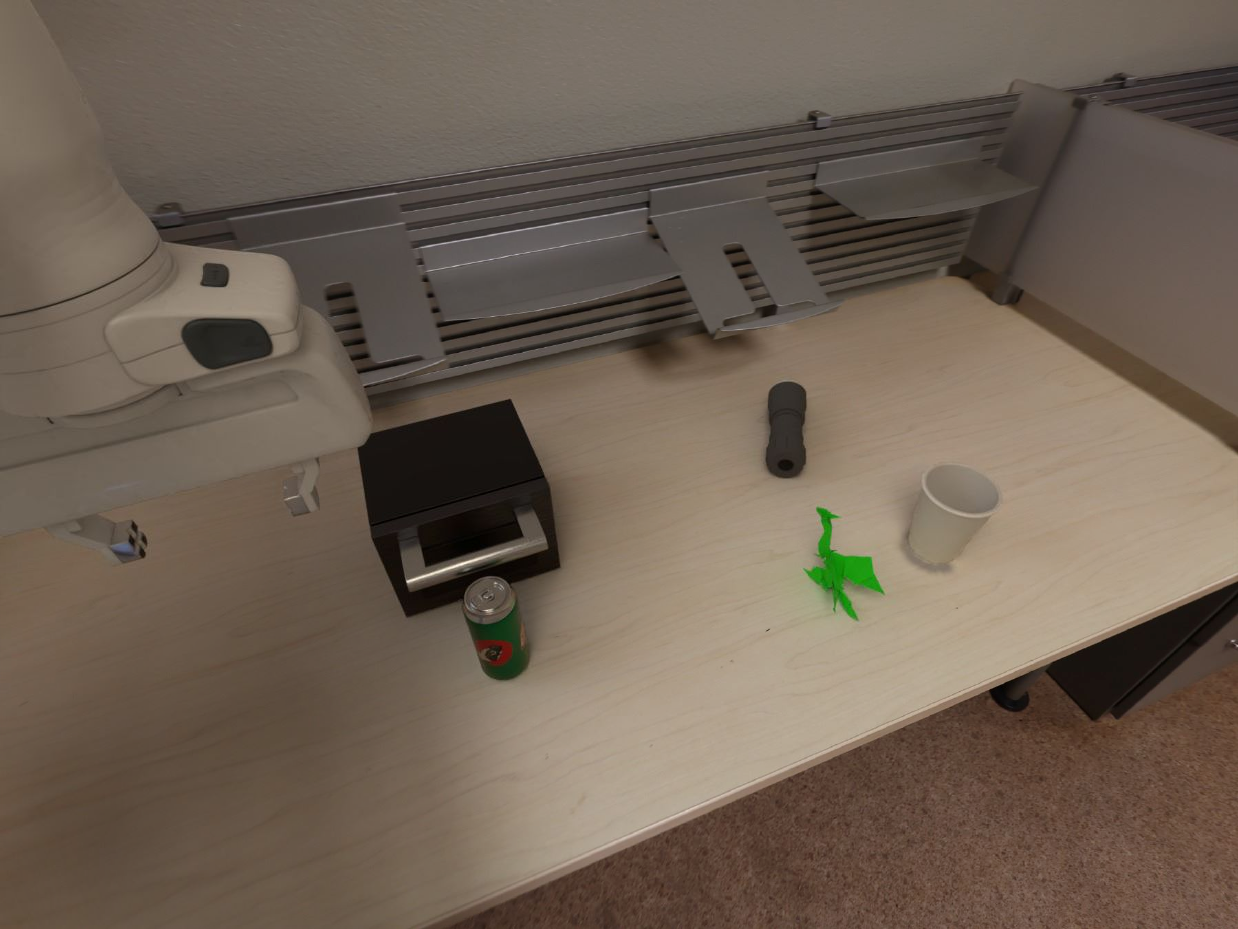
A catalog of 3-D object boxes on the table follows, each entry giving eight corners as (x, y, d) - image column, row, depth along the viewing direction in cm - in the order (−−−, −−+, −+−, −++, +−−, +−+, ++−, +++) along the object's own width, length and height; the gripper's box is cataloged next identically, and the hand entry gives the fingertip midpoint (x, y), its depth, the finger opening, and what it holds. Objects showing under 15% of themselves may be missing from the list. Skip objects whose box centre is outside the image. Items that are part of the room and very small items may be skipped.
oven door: (575, 604, 72) (566, 523, 63) (414, 659, 68) (378, 581, 58) (556, 557, 77) (545, 476, 68) (404, 606, 73) (369, 526, 63)
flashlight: (803, 483, 86) (811, 453, 82) (762, 478, 86) (767, 448, 83) (802, 410, 96) (809, 381, 93) (766, 406, 97) (771, 377, 93)
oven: (556, 557, 78) (545, 474, 68) (404, 605, 73) (369, 524, 63) (524, 480, 87) (510, 398, 77) (388, 518, 82) (355, 436, 73)
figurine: (820, 531, 79) (845, 490, 71) (876, 619, 72) (909, 584, 65) (775, 546, 77) (796, 505, 70) (828, 637, 71) (857, 603, 63)
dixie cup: (919, 578, 74) (949, 521, 67) (883, 524, 80) (907, 467, 73) (985, 565, 76) (1020, 508, 69) (945, 513, 81) (974, 456, 74)
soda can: (538, 666, 67) (524, 600, 59) (494, 692, 65) (474, 628, 57) (515, 631, 70) (499, 564, 62) (473, 655, 68) (450, 589, 60)
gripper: (-261, 429, 23) (0, 633, 33) (326, 311, 29) (404, 517, 38) (-181, 340, 28) (29, 544, 37) (318, 251, 33) (390, 450, 43)
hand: (222, 529), depth 38 cm, fingers open, 8 cm apart
